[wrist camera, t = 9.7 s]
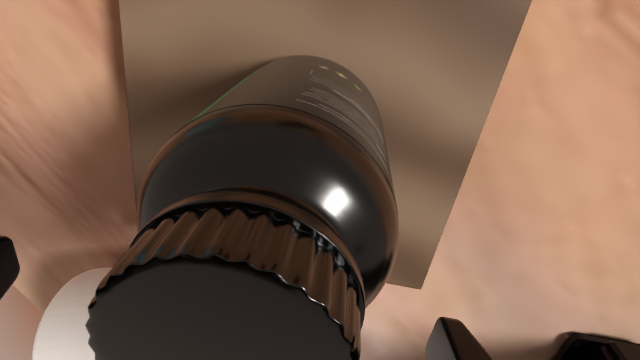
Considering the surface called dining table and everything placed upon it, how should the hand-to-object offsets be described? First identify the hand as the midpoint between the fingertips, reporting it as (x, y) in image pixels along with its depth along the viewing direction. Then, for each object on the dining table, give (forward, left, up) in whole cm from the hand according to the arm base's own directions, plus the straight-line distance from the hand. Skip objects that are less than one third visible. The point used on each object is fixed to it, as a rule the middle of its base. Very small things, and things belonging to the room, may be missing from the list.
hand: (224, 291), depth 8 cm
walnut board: (0, 0, -12) cm, 12 cm away
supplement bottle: (0, -1, -11) cm, 11 cm away
